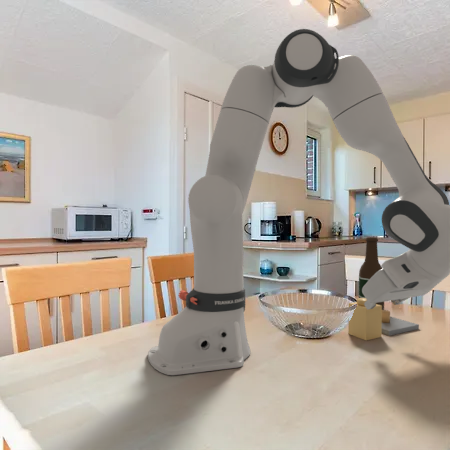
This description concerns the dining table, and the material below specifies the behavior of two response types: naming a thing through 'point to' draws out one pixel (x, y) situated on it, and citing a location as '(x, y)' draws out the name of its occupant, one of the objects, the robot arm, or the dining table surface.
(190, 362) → the robot arm
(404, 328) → the plate
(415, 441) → the dining table surface
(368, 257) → the beer bottle
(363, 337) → the tan toy brick
